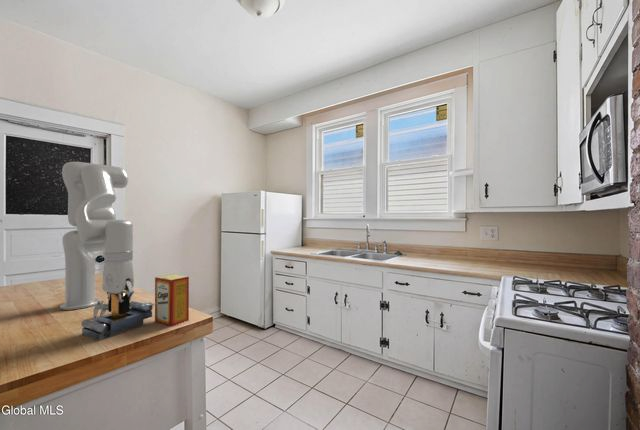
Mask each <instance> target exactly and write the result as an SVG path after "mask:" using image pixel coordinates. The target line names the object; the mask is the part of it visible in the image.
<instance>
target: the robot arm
mask: <svg viewBox="0 0 640 430" xmlns="http://www.w3.org/2000/svg"><path fill="white" fill-rule="evenodd" d="M61 170H62V173H61V175H62V176H61V177H62V179H63V180H62V181H63V183H64V185H65V187H66V191H67V195H68V196H67V206H68V207H67V219H68V223H69V224H70V226H73V227H76V230H70V231H68V232H66V233H64V235H63V236H62V247H63V252H64V261H65V265H64V267H65V268H64V269H65V272H64V273H65V275H64V276H65V278H64V280H65V284H64V287H65V288H64V289H65V292H64V295H65V296H64V298H65V299H64V300H65V301H64V303H62V304H60V305H59V308H60V310H66V311H67V310H68V311H69V310H79V309H80V310H81V309H85V308H90V307H93V306H95V304H98V301H101V300H100V298H97V297H96V262H95V259H93V258H94V257H92V256H90V255H89V254H88V253H93V252H104V265H103V266H104V267H103V271H102V284H101V285H102V286H101V287H102V291H104V292H105V293H106V294H107V301H108V302H107V303H108V310H107V311H108V313H111V293H115V294H119V299H120V302H118V314H120V315H121V314H124V313H127V312H129V311H130V302H131V300H132V296H133V295H134V293H135V290H134V285H135V284H134V282H135V279H134V278H135V277H134V267H133V261H134V259H133V258H134V257H133V254H134V252H133V248H134V243H133V242H134V241H133V239H134V238H133V237H134V234H133V233H134V230H133V229H134V225H133V222H132V221H131V220H124V219H117V216H116V210H115V208H114V207H113V206H111V205H112V204H113V203H115V202H116V200H117V196H116V192H115V189H124V188H126V187H127V185H128V183H129V176H128V173H127V171H126V170H125V169H124V168H123V167H120V166H113V165H105V164H98V163H91V162H82V161H68V162H66V163H64V165H63V166H62V169H61ZM123 291H124V292H123ZM124 293H126V294H125V295H124V296H123V294H124Z"/></svg>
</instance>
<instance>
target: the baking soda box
mask: <svg viewBox="0 0 640 430" xmlns="http://www.w3.org/2000/svg"><path fill="white" fill-rule="evenodd" d="M189 278H190V276H187V275H182V274H181V275H180V274H174V273H172V274H166V275H161V276H160V275H159V276H156V277H154V304H155V305H154V322H156V323H159V324H162V325H165V326H168V327H172V328H173V327H174V326H177V325H180V324H182V323H181V322H183V323H185V322H184V321H186V322H188V321H189V319H190V318H189V315H190V314H189V312H190V310H189V309H190V307H189V305H190V303H189V301H190V297H189V295H190V292H189V290H190V289H189V286H190V282H189V281H190V280H189ZM187 320H188V321H187ZM179 323H180V324H179ZM176 324H177V325H176Z"/></svg>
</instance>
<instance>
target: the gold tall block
mask: <svg viewBox="0 0 640 430" xmlns="http://www.w3.org/2000/svg"><path fill="white" fill-rule="evenodd" d="M124 291H125V290H123V292H124ZM125 294H126V293H124V294H123V296H124V295H125ZM118 302H120V299H119V294H115V293H111V312H110V314H111V320H118V319H121V318H124V317H126V313H124V314H121V315H120V314H118Z"/></svg>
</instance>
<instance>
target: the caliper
mask: <svg viewBox="0 0 640 430" xmlns="http://www.w3.org/2000/svg"><path fill="white" fill-rule="evenodd" d="M100 301H101V300H100ZM100 301H98V304H95V305H94V308H93V319H94V318H98V317H97V316H98V313H99V310H100V313H99V317H101V316H105V313H106V312H107V311H108V302H106V303H104V301H103V300H102V301H101V302H100ZM143 303H144V304H149V305H152V306H155V305H154V304H155V303H152V302H143Z"/></svg>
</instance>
